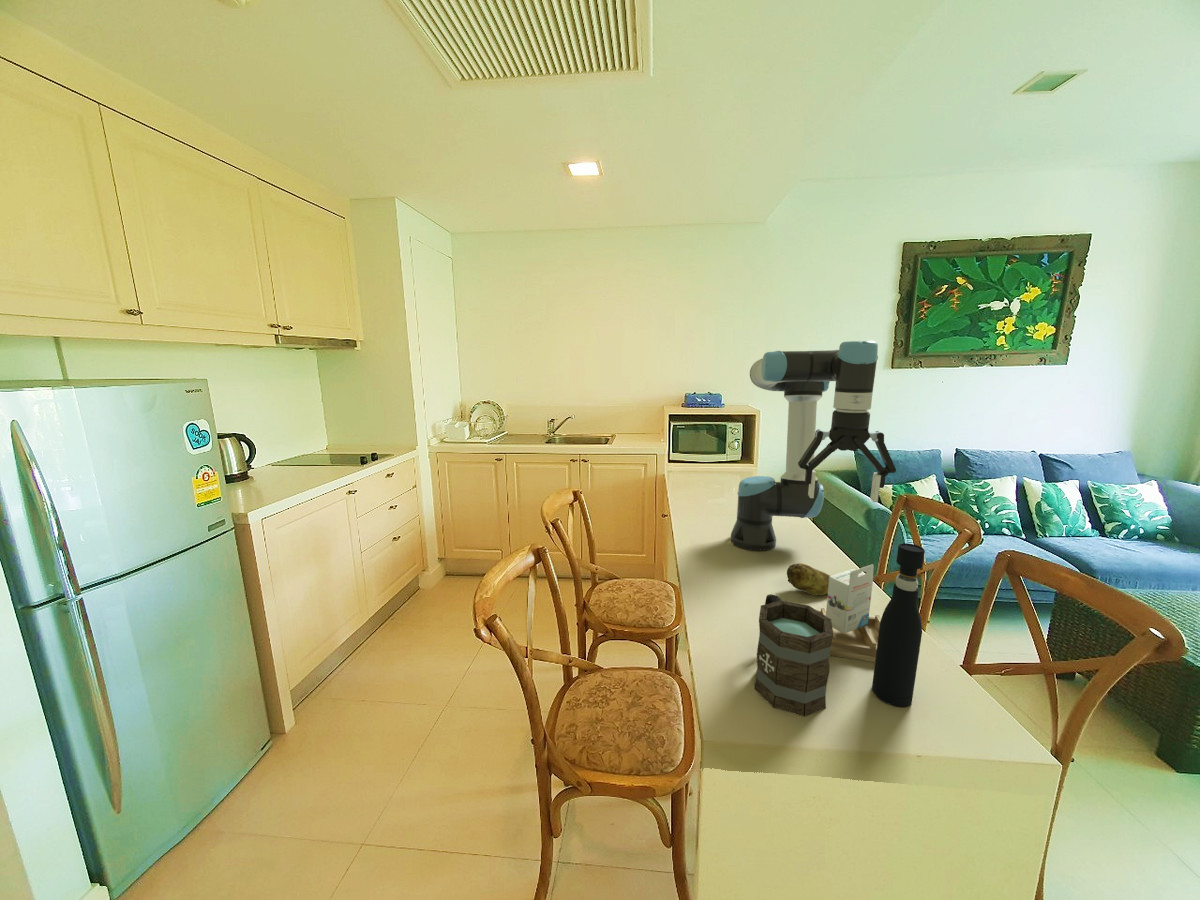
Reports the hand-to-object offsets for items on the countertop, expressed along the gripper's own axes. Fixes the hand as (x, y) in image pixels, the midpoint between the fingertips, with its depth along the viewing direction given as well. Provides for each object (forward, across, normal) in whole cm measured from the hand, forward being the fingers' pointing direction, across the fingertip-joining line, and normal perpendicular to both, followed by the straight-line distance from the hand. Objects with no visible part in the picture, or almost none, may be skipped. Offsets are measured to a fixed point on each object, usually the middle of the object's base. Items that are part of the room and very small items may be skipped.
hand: (841, 498), depth 104 cm
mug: (+30, -14, -28) cm, 44 cm away
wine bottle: (+30, +5, -28) cm, 41 cm away
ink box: (+26, +1, -12) cm, 29 cm away
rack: (+30, -1, -12) cm, 32 cm away
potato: (+31, -3, +9) cm, 32 cm away
